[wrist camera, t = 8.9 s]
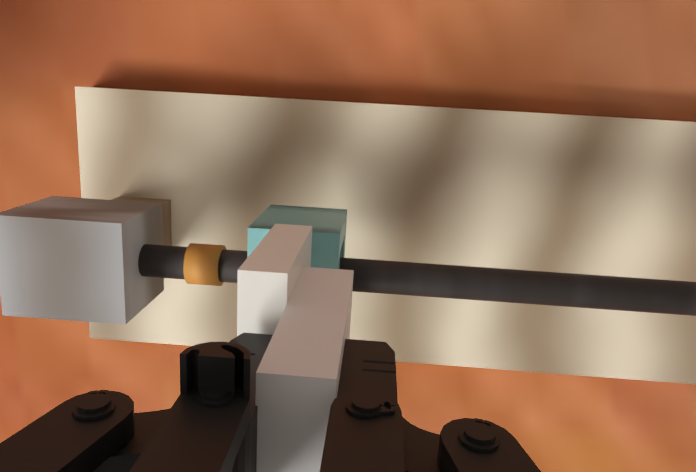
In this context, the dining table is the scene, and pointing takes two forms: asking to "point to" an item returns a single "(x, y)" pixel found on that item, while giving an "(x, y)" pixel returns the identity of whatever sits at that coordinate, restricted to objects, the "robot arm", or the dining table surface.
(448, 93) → the dining table surface
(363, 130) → the cord rig
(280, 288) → the white slab teal box
